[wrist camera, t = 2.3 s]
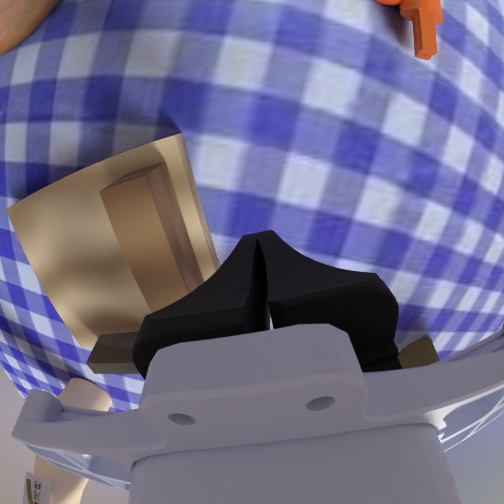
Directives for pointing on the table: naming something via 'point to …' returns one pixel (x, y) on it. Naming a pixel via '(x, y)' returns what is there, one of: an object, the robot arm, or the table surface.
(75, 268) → the board
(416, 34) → the orange blocky toy
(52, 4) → the ceramic jug
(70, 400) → the water bottle
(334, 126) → the table surface
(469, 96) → the table surface
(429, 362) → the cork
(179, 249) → the folding leg
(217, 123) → the table surface
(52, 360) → the table surface
